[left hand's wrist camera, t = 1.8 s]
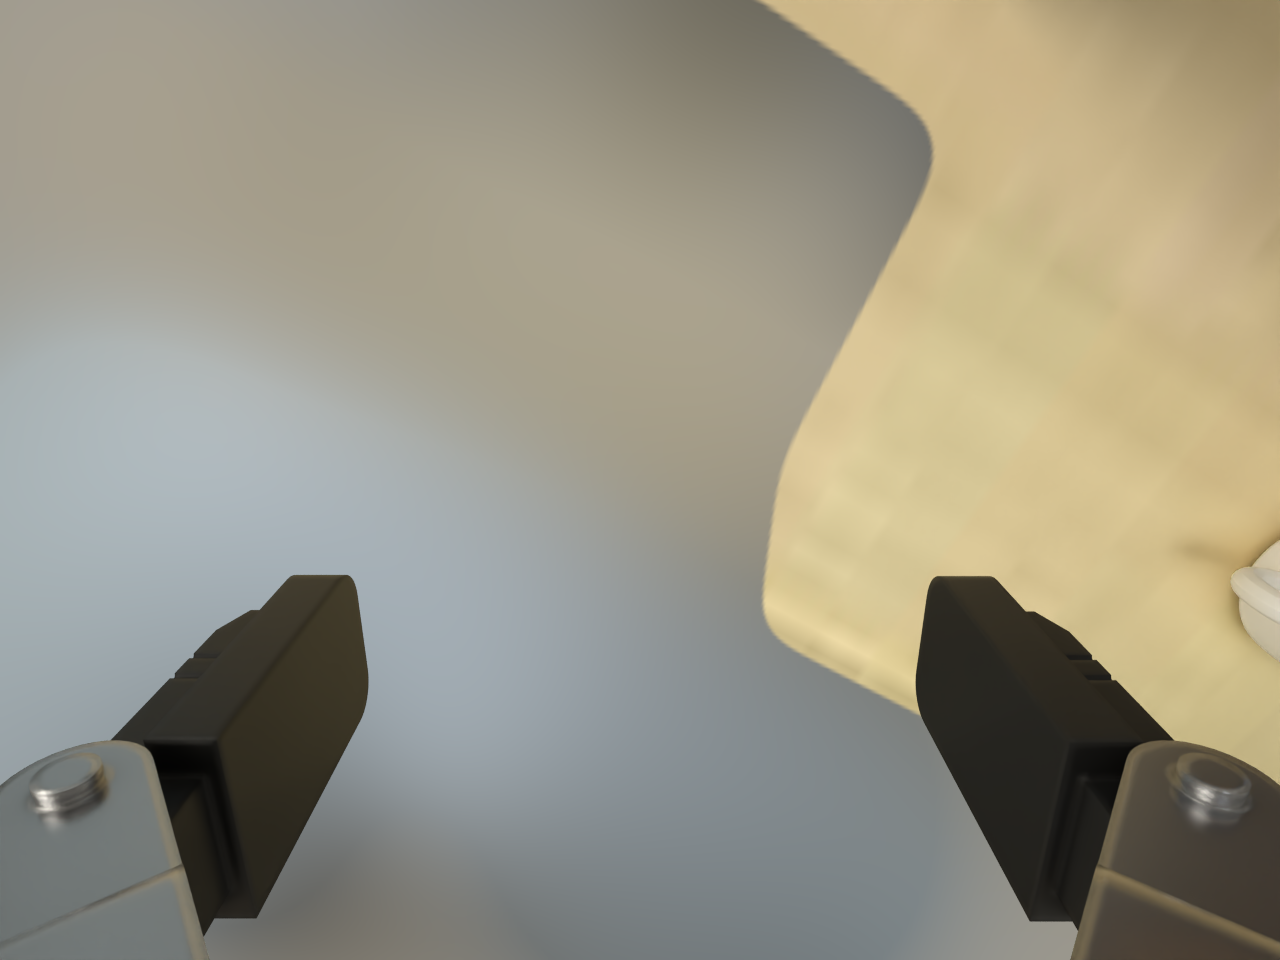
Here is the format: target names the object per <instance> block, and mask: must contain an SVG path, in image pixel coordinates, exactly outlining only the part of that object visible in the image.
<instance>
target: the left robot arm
mask: <svg viewBox="0 0 1280 960" xmlns="http://www.w3.org/2000/svg"><path fill="white" fill-rule="evenodd" d="M367 695H368V668H367V661H366V653H365V646H364V639H363V632H362V624H361V617H360V610H359V603H358V595H357V590H356V586H355V583H354V581H353V579H352V578H351V577H350V576H348V575H293V576H291V577H289V578H288V579H287V580H286V582H285V583H284V584H283V585H282V586H281V587H280V588H279V589H278V590H277V591H276V593H275V594H274V595H273V596H272V597H271V598H270V599H269V600H268V601H267V603H266V604H265V605H264V606H263V607H262V608H261V609H260V610H250V611H249V612H247V613H245V614H243V615H242V616H240V617H238V618H236V619H235V620H233V621H231V622H230V623H228V624H226V625H224V626H223V627H221V628H219V629H217V630H216V631H215V632H214V633H213V634H212V635H211V636H210V637H209V638H208V639H207V640H206V641H205V642H204V643H203V645H202V646H201V647H200V648H199V649H198V650H197V651H196V652H195V653H194V657H193V658H189V659H188V660H187V661H186V662H185V663H184V664H183V665H182V666H181V667H180V669H179V670H178V671H177V672H176V673H175V678H172V679H169V680H168V681H167V682H166V683H165V684H164V685H163V686H162V687H161V688H160V689H159V690H158V691H157V692H156V694H155V695H154V696H153V697H152V698H151V699H150V700H149V701H148V702H147V703H146V704H145V705H144V706H143V707H142V708H141V709H140V710H139V711H138V712H137V713H136V714H135V715H134V716H133V718H132V719H131V720H130V721H129V722H128V723H127V724H126V725H125V726H124V727H123V728H122V729H121V730H120V731H119V732H118V733H117V734H116V735H115V736H114V737H113V738H112V739H111V740H110V741H100V742H93V743H88V744H83V745H79V746H75V747H72V748H69V749H65V750H63V751H60V752H57V753H55V754H52V755H50V756H47V757H45V758H43V759H41V760H39V761H37V762H35V763H33V764H31V765H29V766H27V767H26V768H24V769H22V770H21V771H19V772H18V773H16V774H15V775H13V776H12V777H10V778H9V779H8V780H7V781H5V782H4V783H3V784H2V785H0V960H210V959H209V956H208V952H207V949H206V945H205V941H204V935H205V933H206V932H207V930H208V928H209V927H210V925H211V923H212V921H213V920H214V918H257V916H258V914H259V912H260V911H261V909H262V907H263V905H264V903H265V901H266V899H267V897H268V895H269V893H270V892H271V890H272V888H273V886H274V884H275V882H276V880H277V878H278V876H279V874H280V872H281V871H282V869H283V867H284V865H285V863H286V861H287V859H288V857H289V855H290V853H291V851H292V850H293V848H294V846H295V844H296V842H297V840H298V838H299V836H300V834H301V833H302V831H303V829H304V827H305V825H306V823H307V821H308V819H309V817H310V815H311V814H312V812H313V810H314V808H315V806H316V804H317V802H318V800H319V798H320V796H321V794H322V793H323V791H324V789H325V787H326V785H327V783H328V781H329V779H330V777H331V775H332V774H333V772H334V770H335V768H336V766H337V764H338V762H339V760H340V758H341V756H342V755H343V753H344V751H345V749H346V747H347V745H348V743H349V741H350V739H351V737H352V735H353V734H354V732H355V730H356V728H357V726H358V724H359V722H360V720H361V718H362V716H363V713H364V710H365V706H366V701H367ZM916 695H917V702H918V707H919V710H920V714H921V717H922V719H923V721H924V723H925V725H926V727H927V729H928V731H929V733H930V734H931V736H932V738H933V740H934V742H935V744H936V746H937V748H938V749H939V751H940V753H941V755H942V757H943V759H944V761H945V763H946V765H947V766H948V768H949V770H950V772H951V774H952V776H953V778H954V780H955V782H956V783H957V785H958V787H959V789H960V791H961V793H962V795H963V797H964V798H965V800H966V802H967V804H968V806H969V808H970V810H971V812H972V813H973V815H974V817H975V819H976V821H977V823H978V825H979V827H980V828H981V830H982V832H983V834H984V836H985V838H986V840H987V842H988V844H989V845H990V847H991V849H992V851H993V853H994V855H995V857H996V859H997V860H998V862H999V864H1000V866H1001V868H1002V870H1003V872H1004V874H1005V876H1006V877H1007V879H1008V881H1009V883H1010V885H1011V887H1012V889H1013V890H1014V892H1015V894H1016V896H1017V898H1018V900H1019V902H1020V904H1021V906H1022V907H1023V909H1024V911H1025V913H1026V915H1027V917H1028V919H1029V921H1073V923H1074V925H1075V926H1076V928H1077V930H1078V934H1077V938H1076V941H1075V945H1074V948H1073V952H1072V956H1071V959H1070V960H1280V785H1279V784H1277V783H1276V782H1275V781H1273V780H1272V779H1271V778H1270V777H1268V776H1267V775H1265V774H1264V773H1262V772H1261V771H1259V770H1258V769H1256V768H1254V767H1253V766H1251V765H1249V764H1247V763H1245V762H1243V761H1241V760H1239V759H1237V758H1235V757H1233V756H1230V755H1228V754H1225V753H1223V752H1220V751H1217V750H1215V749H1211V748H1208V747H1205V746H1201V745H1197V744H1192V743H1187V742H1180V741H1174V740H1173V739H1172V738H1171V737H1170V735H1169V734H1168V733H1167V732H1166V731H1165V730H1164V729H1163V728H1162V727H1161V726H1160V725H1159V724H1158V723H1157V722H1156V721H1155V720H1154V719H1153V718H1152V717H1151V716H1150V715H1149V714H1148V713H1147V712H1146V711H1145V710H1144V709H1143V708H1142V707H1141V706H1140V704H1139V703H1138V702H1137V701H1136V700H1135V699H1134V698H1133V697H1132V696H1131V695H1130V694H1129V693H1128V692H1127V691H1126V690H1125V689H1124V688H1123V687H1122V686H1121V685H1120V684H1119V683H1118V682H1117V681H1116V680H1112V679H1111V675H1110V673H1109V672H1108V671H1107V670H1106V669H1105V668H1104V667H1103V666H1102V665H1101V664H1100V663H1099V662H1098V661H1097V660H1092V655H1091V654H1090V653H1089V652H1088V651H1087V650H1086V649H1085V648H1084V647H1083V646H1082V645H1081V644H1080V642H1079V641H1078V640H1077V639H1076V638H1075V637H1074V636H1073V635H1072V634H1071V633H1070V632H1069V631H1067V630H1065V629H1064V628H1062V627H1060V626H1058V625H1057V624H1055V623H1053V622H1051V621H1050V620H1048V619H1046V618H1044V617H1043V616H1041V615H1039V614H1038V613H1036V612H1026V611H1025V610H1024V609H1023V608H1022V607H1021V606H1020V605H1019V604H1018V603H1017V602H1016V600H1015V599H1014V598H1013V597H1012V596H1011V595H1010V594H1009V593H1008V592H1007V591H1006V589H1005V588H1004V587H1003V586H1002V585H1001V584H1000V583H999V582H998V581H997V580H996V579H995V578H994V577H991V576H937V577H935V578H934V579H933V580H932V581H931V583H930V585H929V589H928V593H927V599H926V606H925V613H924V621H923V628H922V635H921V642H920V649H919V656H918V663H917V671H916Z"/></svg>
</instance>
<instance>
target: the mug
mask: <svg viewBox="0 0 1280 960" xmlns="http://www.w3.org/2000/svg"><path fill="white" fill-rule="evenodd" d="M1230 583H1231V587H1232V589H1233V591H1234V592H1235V593H1236V595H1237V596H1238V597H1239V612H1240V617H1241V620H1242V623H1243V625H1244V628H1245V630H1246V631H1247V633H1248V634H1249V636H1250V637H1251V638H1252V639H1253V640H1254V641H1255V642H1256V643H1257V644H1258V645H1259V646H1260V647H1261V648H1262V649H1263V650H1265V651H1266V652H1267V653H1268V654H1270V655H1271V656H1272V657H1274V658H1275V659H1276V660H1278V661H1279V662H1280V540H1278V541H1277V542H1276V543H1274V544H1273V545H1272V546H1270V547H1269V548H1268V549H1267V550H1266V551H1265V552H1264V553H1262V555H1261V556H1260V557H1259V558H1258V559H1257V560H1256V561H1255V563H1254V564H1253V565H1252V567H1243V568H1241V569H1238V570H1236V571H1235V572H1234V573H1233V574H1232V577H1231V580H1230Z"/></svg>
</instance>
